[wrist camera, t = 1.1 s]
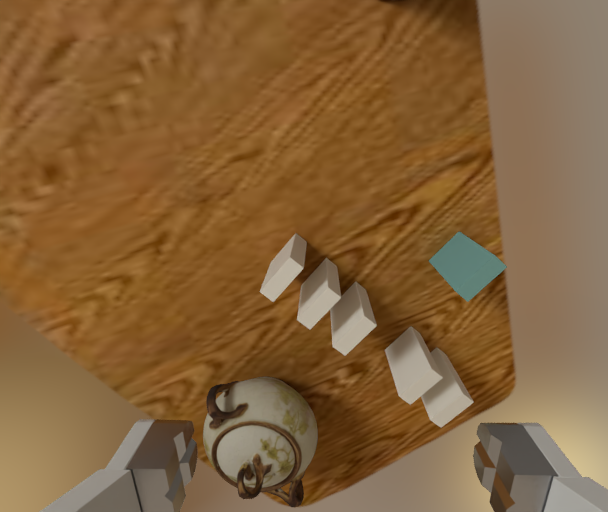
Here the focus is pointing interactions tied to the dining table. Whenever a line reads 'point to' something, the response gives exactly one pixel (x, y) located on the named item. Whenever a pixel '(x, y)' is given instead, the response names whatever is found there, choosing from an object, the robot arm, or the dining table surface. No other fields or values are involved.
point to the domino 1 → (284, 267)
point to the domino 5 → (445, 392)
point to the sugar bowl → (260, 437)
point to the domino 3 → (351, 319)
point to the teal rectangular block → (466, 265)
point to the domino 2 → (319, 294)
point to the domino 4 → (412, 365)
